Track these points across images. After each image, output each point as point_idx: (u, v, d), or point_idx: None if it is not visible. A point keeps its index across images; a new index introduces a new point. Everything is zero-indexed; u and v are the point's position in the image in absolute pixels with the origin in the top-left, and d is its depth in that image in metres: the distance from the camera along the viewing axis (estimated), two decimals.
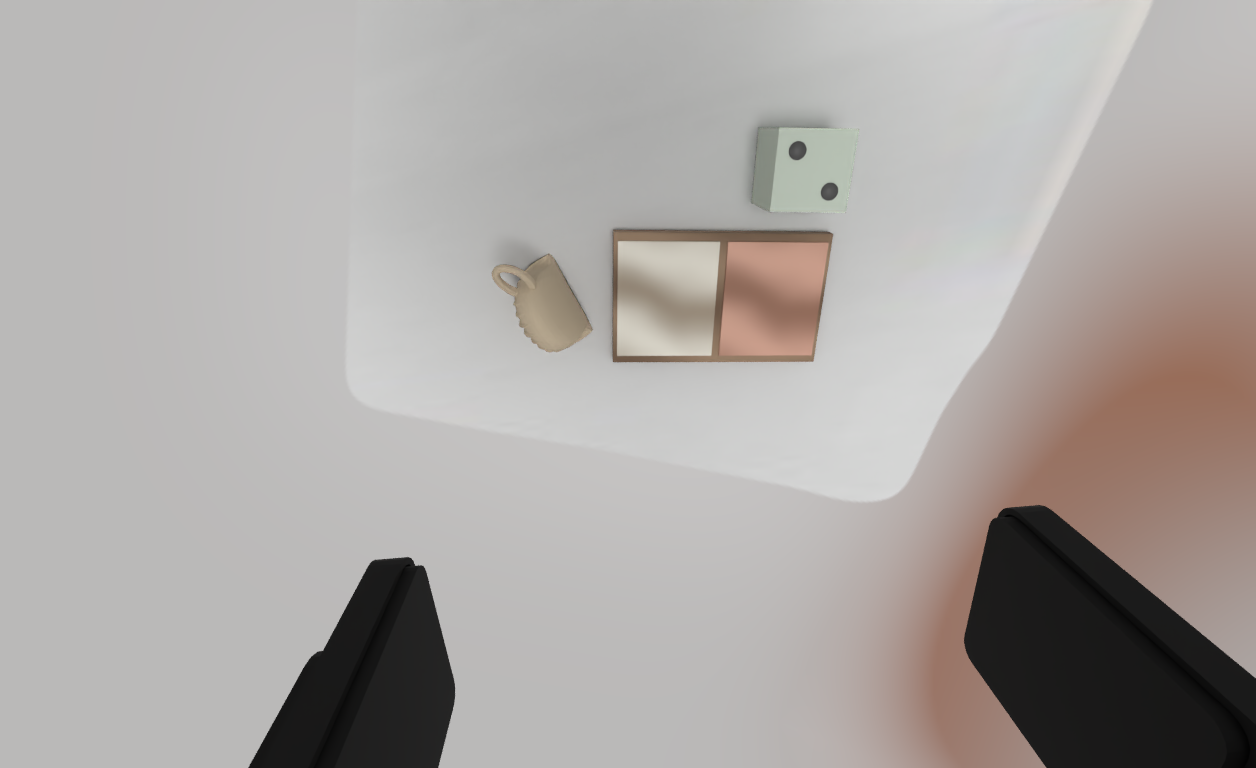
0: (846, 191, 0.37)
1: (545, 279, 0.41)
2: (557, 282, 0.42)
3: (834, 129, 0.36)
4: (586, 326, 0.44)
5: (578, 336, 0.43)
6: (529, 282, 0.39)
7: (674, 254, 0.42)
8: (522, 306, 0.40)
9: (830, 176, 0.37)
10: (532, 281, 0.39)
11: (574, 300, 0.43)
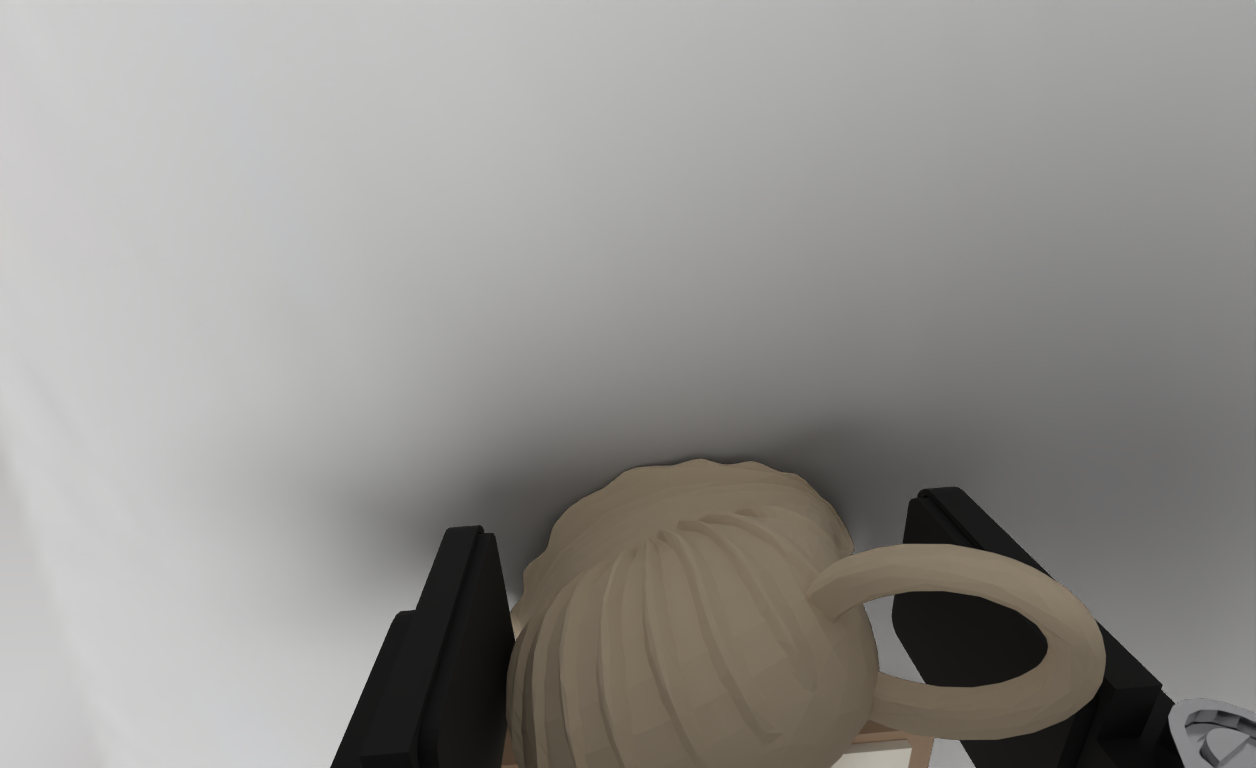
0: None
1: None
2: None
3: None
4: None
5: None
6: (933, 731, 0.07)
7: None
8: (801, 708, 0.07)
9: None
10: (924, 732, 0.07)
11: None
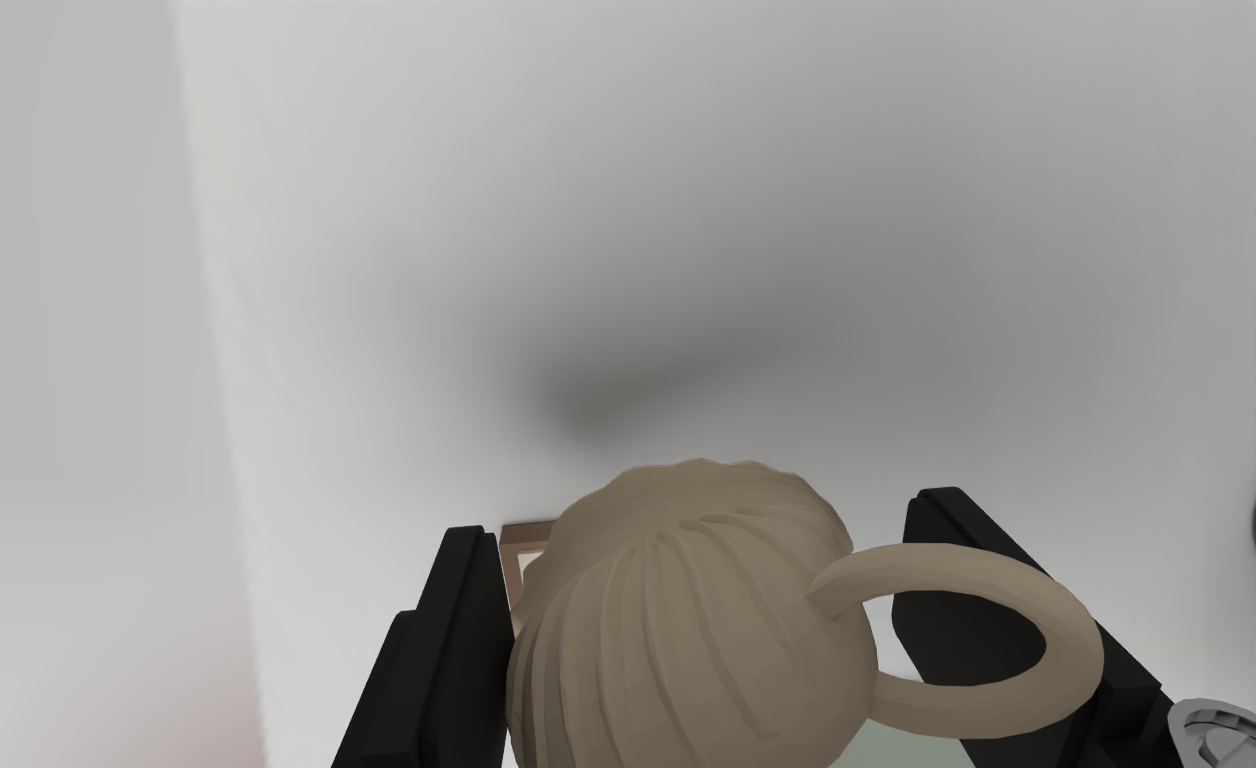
0: None
1: None
2: None
3: None
4: None
5: None
6: (932, 730, 0.07)
7: None
8: (801, 707, 0.07)
9: None
10: (924, 731, 0.07)
11: None
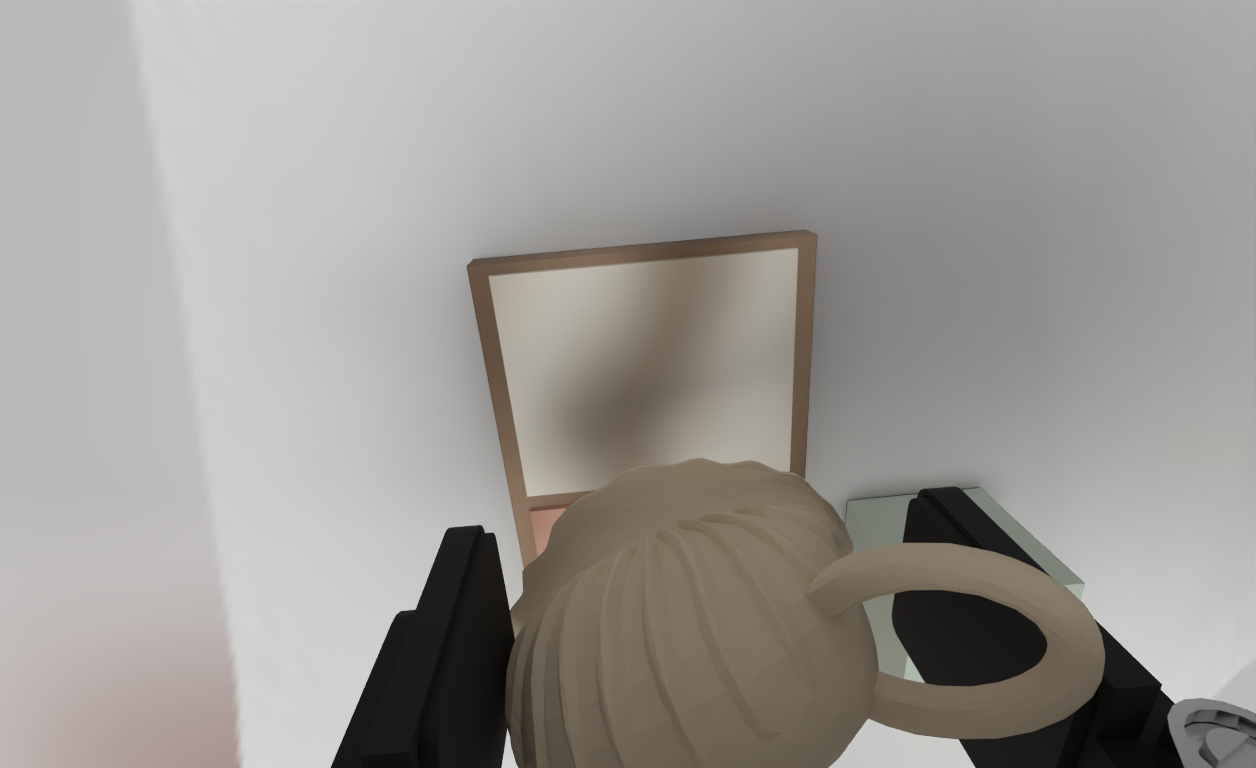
0: None
1: None
2: None
3: None
4: None
5: None
6: (932, 730, 0.07)
7: (763, 384, 0.18)
8: (800, 706, 0.07)
9: None
10: (924, 731, 0.07)
11: None
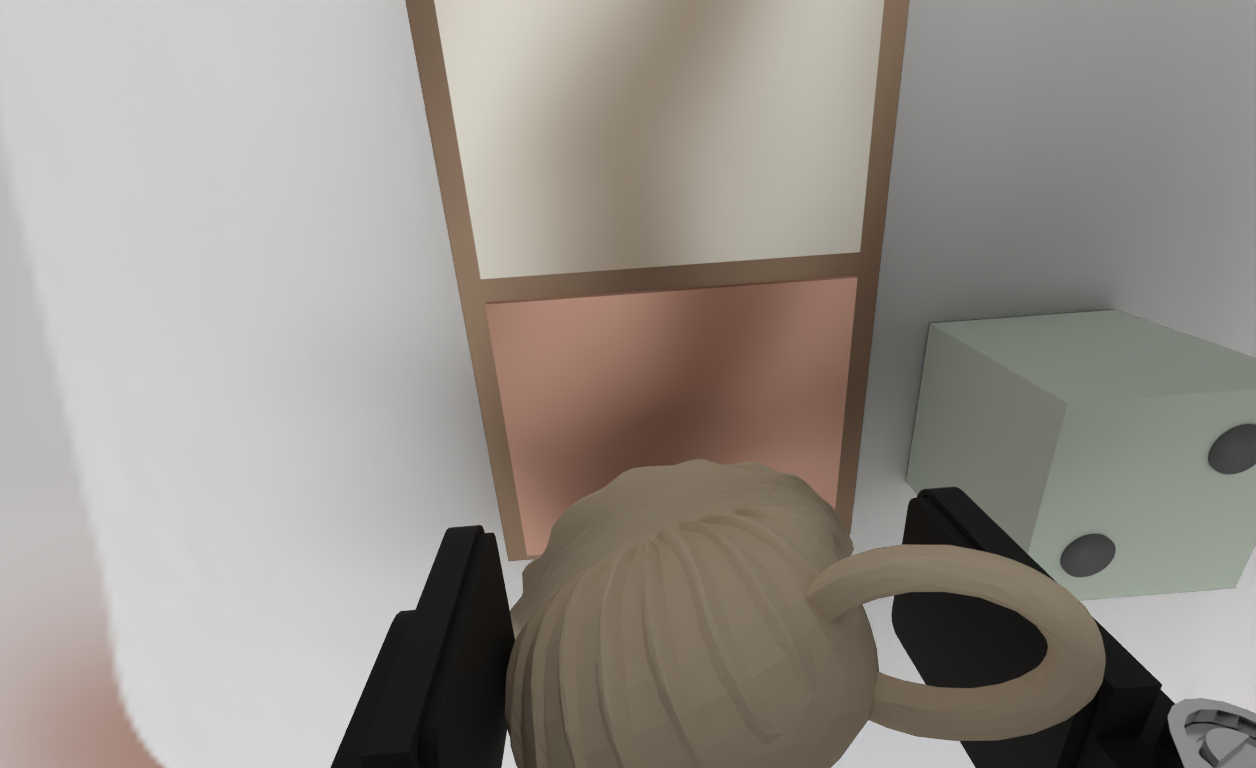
0: (1073, 594, 0.13)
1: None
2: None
3: None
4: None
5: None
6: (932, 732, 0.07)
7: (831, 97, 0.12)
8: (800, 708, 0.07)
9: (1128, 550, 0.12)
10: (924, 732, 0.07)
11: None
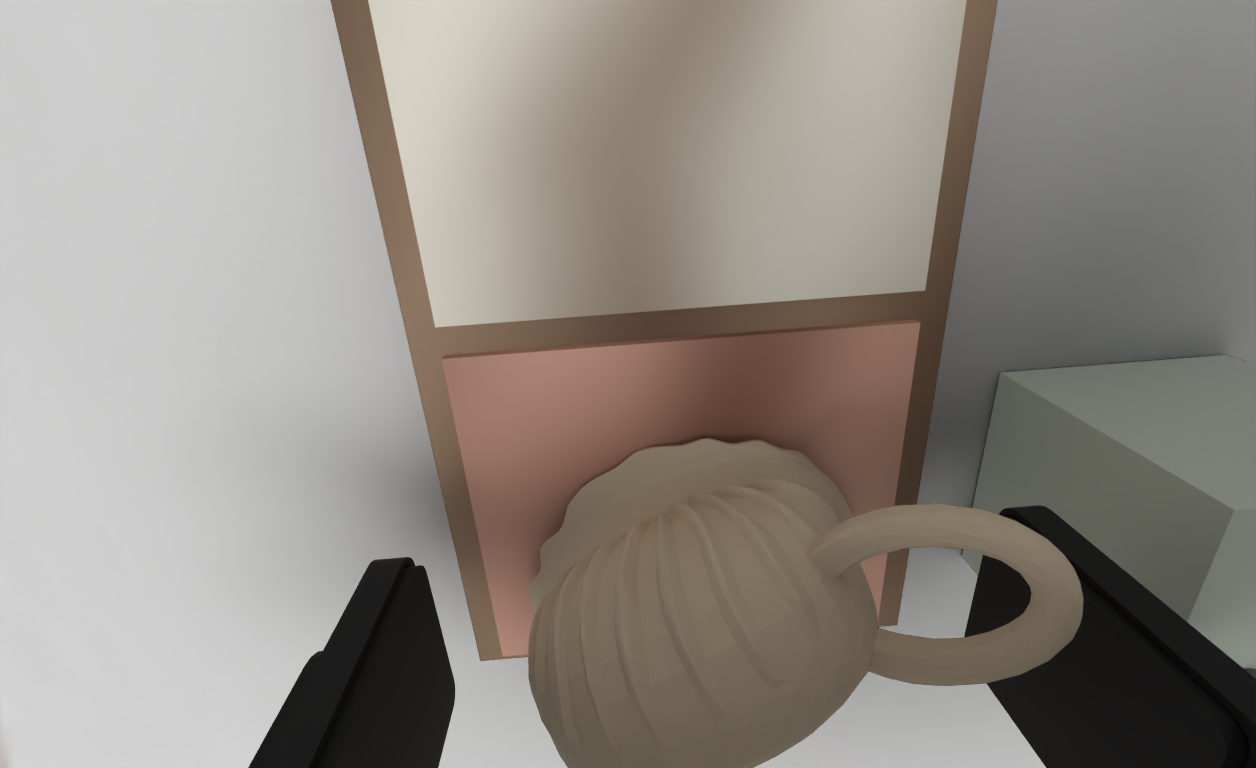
0: None
1: None
2: None
3: None
4: None
5: None
6: (928, 678, 0.08)
7: (896, 90, 0.09)
8: (806, 657, 0.07)
9: None
10: (920, 681, 0.08)
11: None
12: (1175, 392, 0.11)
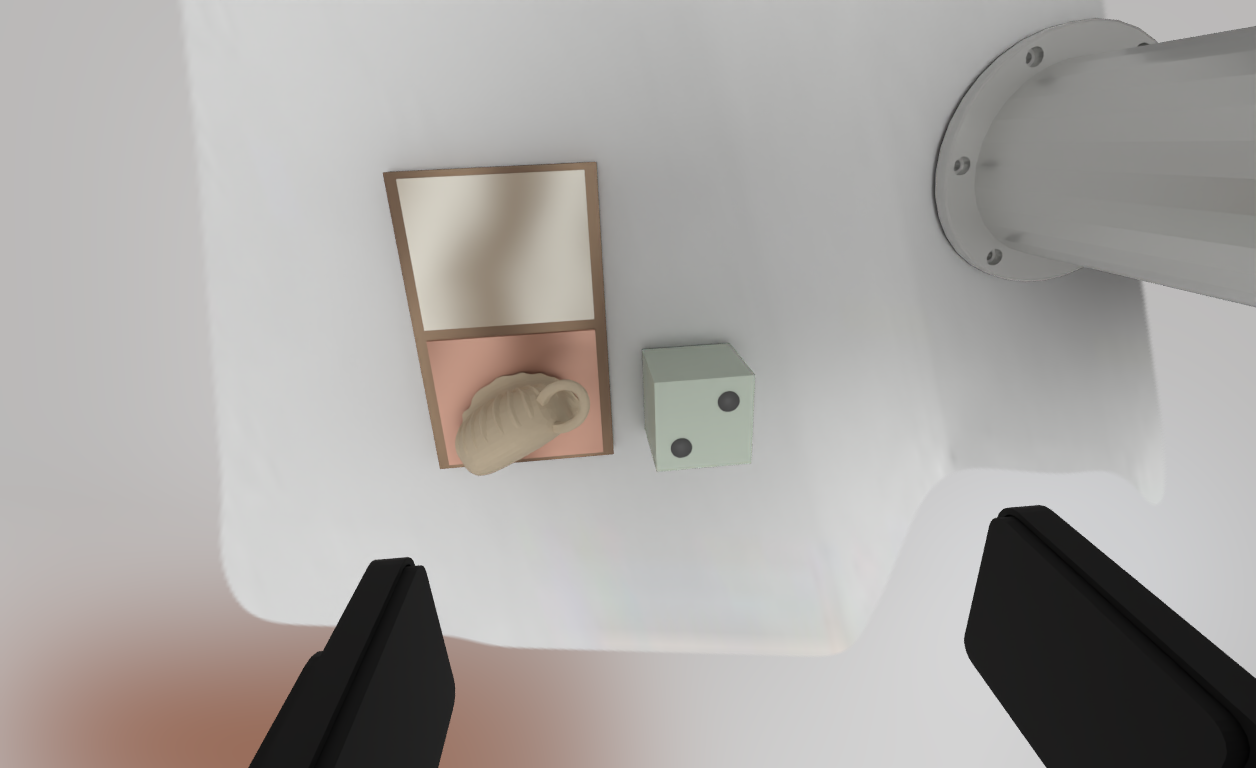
0: (681, 466, 0.30)
1: None
2: None
3: (751, 437, 0.30)
4: None
5: None
6: (564, 429, 0.28)
7: (572, 257, 0.29)
8: (528, 421, 0.27)
9: (698, 445, 0.30)
10: (564, 432, 0.28)
11: None
12: (689, 355, 0.31)
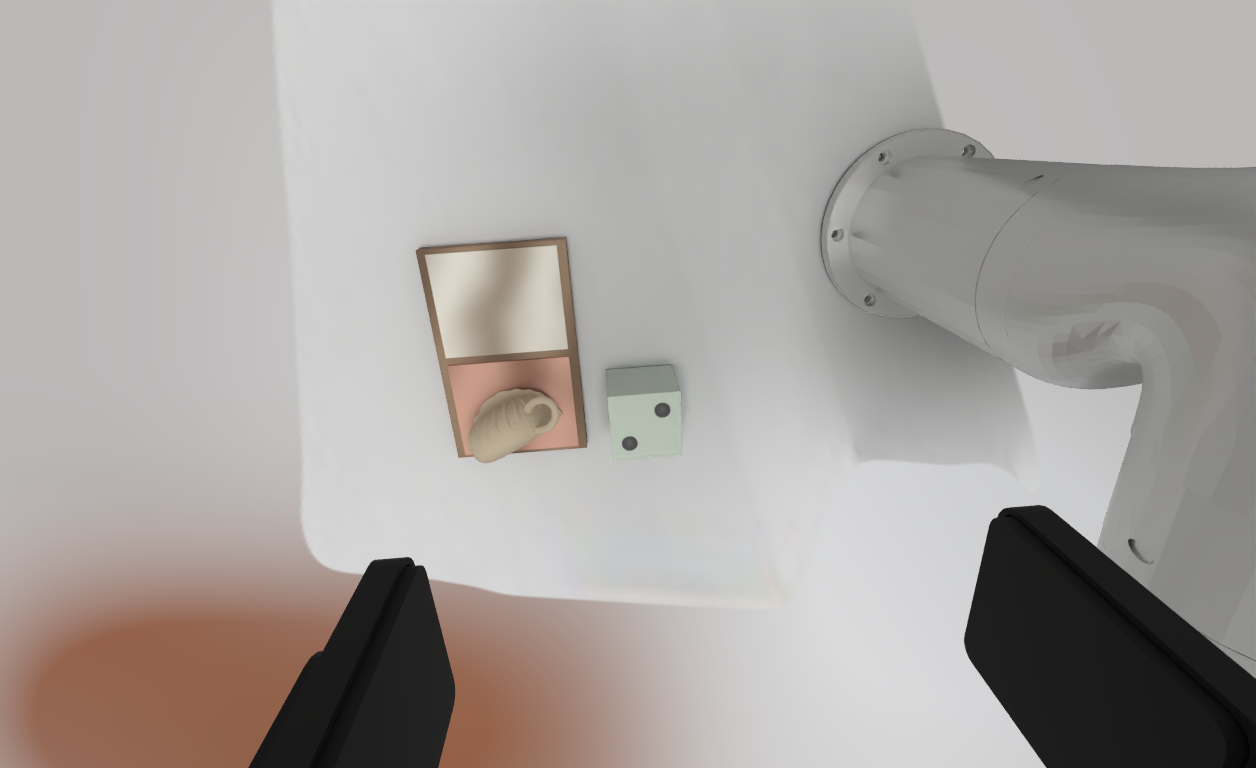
0: (630, 457, 0.41)
1: None
2: None
3: (681, 436, 0.41)
4: None
5: None
6: (542, 431, 0.39)
7: (549, 305, 0.40)
8: (517, 425, 0.39)
9: (642, 441, 0.41)
10: None
11: None
12: (639, 374, 0.42)
